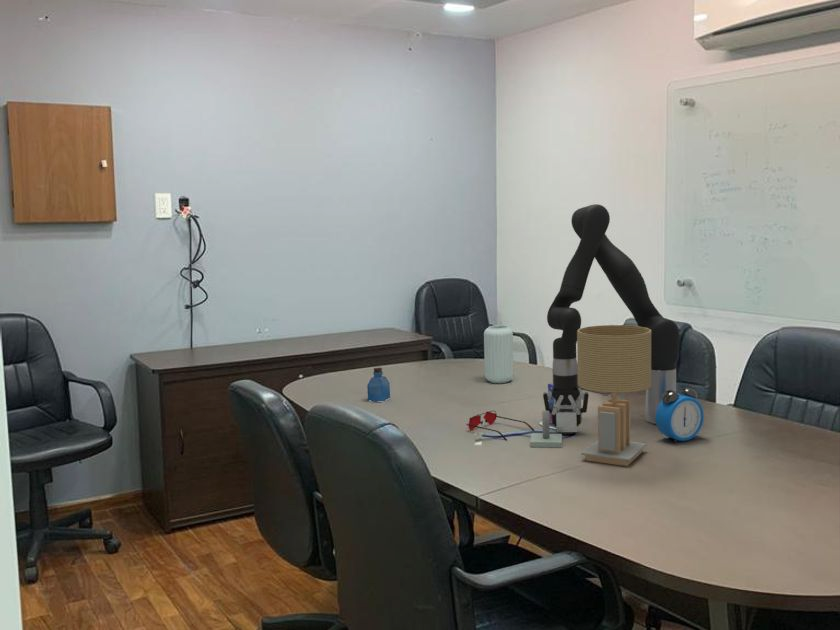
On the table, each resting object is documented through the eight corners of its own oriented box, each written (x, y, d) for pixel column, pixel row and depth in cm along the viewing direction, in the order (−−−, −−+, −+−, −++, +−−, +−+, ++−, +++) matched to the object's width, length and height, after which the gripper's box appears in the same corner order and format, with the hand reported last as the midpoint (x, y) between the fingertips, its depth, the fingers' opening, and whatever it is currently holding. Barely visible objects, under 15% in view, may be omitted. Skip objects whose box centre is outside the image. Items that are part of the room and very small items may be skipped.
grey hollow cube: (576, 426, 247) (575, 407, 246) (576, 432, 241) (576, 412, 241) (556, 426, 248) (556, 407, 247) (556, 432, 242) (556, 412, 242)
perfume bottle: (368, 401, 295) (366, 369, 293) (375, 397, 300) (373, 366, 299) (383, 402, 292) (381, 370, 291) (390, 398, 298) (388, 367, 297)
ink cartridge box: (575, 416, 264) (575, 373, 262) (582, 420, 258) (582, 376, 256) (547, 419, 261) (547, 375, 260) (554, 423, 256) (553, 379, 254)
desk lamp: (638, 471, 207) (639, 337, 203) (567, 461, 218) (566, 333, 213) (659, 451, 224) (660, 327, 219) (592, 442, 234) (591, 323, 229)
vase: (494, 377, 329) (492, 324, 326) (518, 380, 322) (517, 325, 319) (479, 382, 320) (478, 327, 317) (504, 385, 313) (503, 329, 310)
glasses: (494, 423, 261) (494, 408, 260) (535, 431, 249) (534, 416, 248) (465, 432, 251) (465, 417, 250) (506, 442, 239) (506, 425, 239)
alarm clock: (668, 445, 229) (668, 394, 227) (654, 439, 235) (654, 389, 233) (704, 438, 234) (704, 388, 232) (689, 433, 240) (690, 384, 238)
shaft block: (561, 438, 239) (561, 407, 238) (561, 447, 230) (561, 415, 229) (531, 438, 241) (531, 407, 239) (530, 447, 232) (529, 415, 231)
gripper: (588, 369, 245) (589, 422, 247) (541, 369, 247) (542, 422, 250) (589, 374, 238) (590, 429, 240) (541, 374, 240) (542, 429, 242)
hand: (566, 425), depth 245 cm, fingers closed on grey hollow cube, 6 cm apart
